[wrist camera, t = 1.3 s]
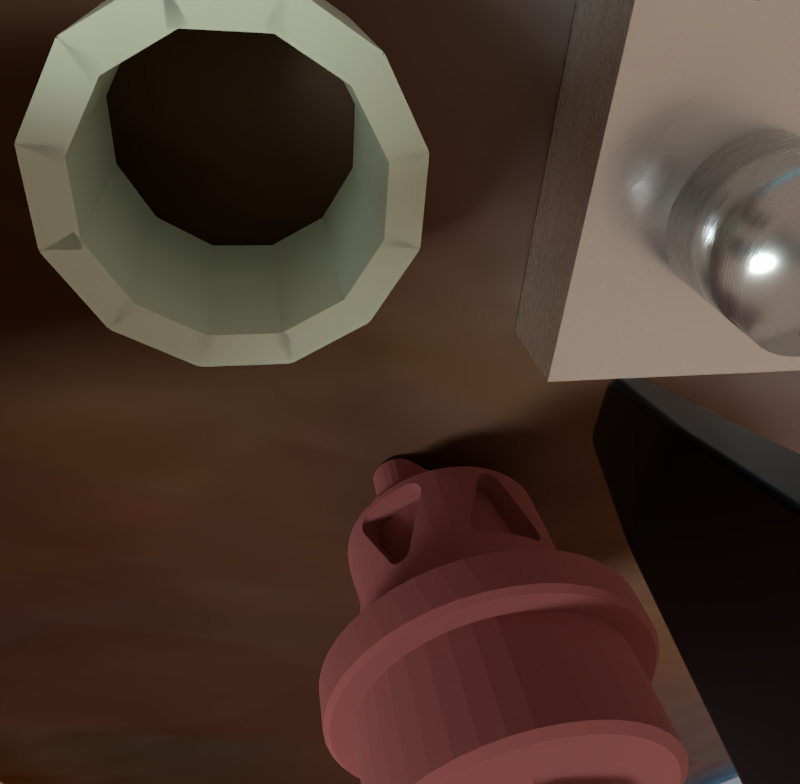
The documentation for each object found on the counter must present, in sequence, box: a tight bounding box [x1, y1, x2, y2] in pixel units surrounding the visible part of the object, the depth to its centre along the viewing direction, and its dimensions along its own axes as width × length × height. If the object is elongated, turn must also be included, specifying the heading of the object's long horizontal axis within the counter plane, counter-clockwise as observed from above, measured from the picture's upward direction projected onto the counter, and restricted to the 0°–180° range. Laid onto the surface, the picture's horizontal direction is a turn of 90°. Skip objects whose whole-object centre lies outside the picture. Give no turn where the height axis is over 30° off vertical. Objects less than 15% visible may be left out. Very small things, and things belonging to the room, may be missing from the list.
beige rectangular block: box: [515, 0, 800, 382], centre depth 17 cm, size 9×16×6 cm, turn 176°
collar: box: [14, 0, 429, 367], centre depth 16 cm, size 8×8×5 cm
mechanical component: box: [319, 458, 689, 784], centre depth 22 cm, size 12×10×10 cm
